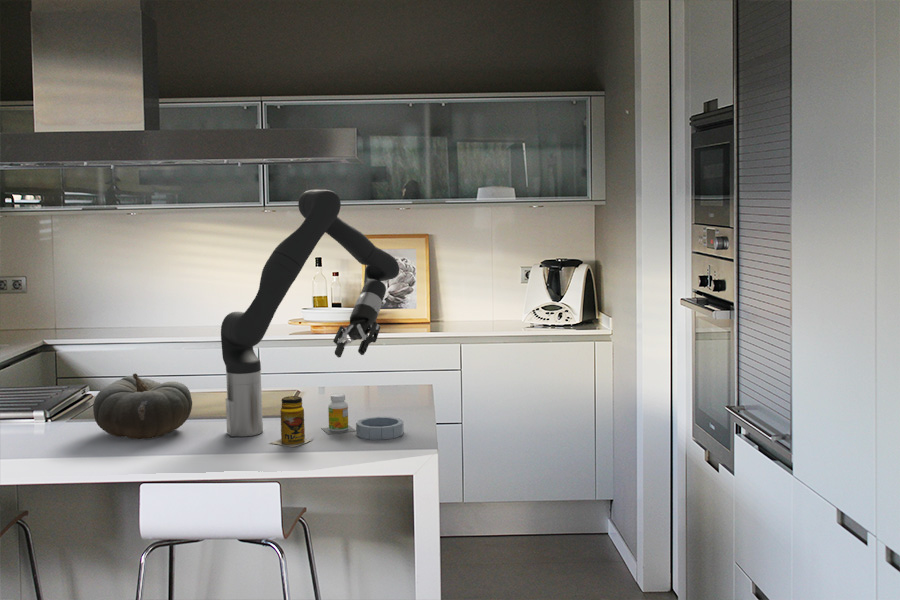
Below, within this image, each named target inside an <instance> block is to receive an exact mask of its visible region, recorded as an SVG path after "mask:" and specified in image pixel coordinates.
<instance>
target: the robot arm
mask: <svg viewBox="0 0 900 600" xmlns="http://www.w3.org/2000/svg"><path fill="white" fill-rule="evenodd" d="M297 206H298V210H299V212H300V215H301V216H302V217H303V218H304V220H303V222H302V223H301V225H299V227H298V228H296V230H294V231H293V232H292V233H291V234H290V235H289V236H287V237H285V238H284V240H282V241H281V242H280V243H279V244H278V245H277V246H276V247H275V249H273V251H272V252H271V254H270V256H269V258H268V259H267V260H266V262H265V264H264V265H263V268H262V270H261V276H260V280H259V287H258V291H257V293H256V296H255V297H254V299H253V300H252V302H251V303H250V305H249V306H248V307H247V308H246V310H245V311H232V312H229V313H228V314H226V316H224V318H223V320H222V322H221V326H220V343H221V352H222V353H221V354H222V355H221V356H222V359H223V363H224V365H225V371H226V372H225V373H226V374H225V375H226V377H225V378H226V398H225V412H226V413H225V416H226V432H227V434H228V435H229V437H231V438H232V437H250V436H251V437H253V436H257V435H259V434H262V433H263V432H264V423H263V422H264V421H263V401H262V399H263V397H262V396H263V394H262V366H261V364H262V363H261V360H260V359H259V357H258V356H257V355H256V353H255V351H254V347H255V346H257V345H258V344H260V342H261V341H262V340H263V338H264V337H265V335H266V332H267V331H268V329H269V326H270V324H271V322H272V320H273V318H274V317H275V314H276V312H277V310H278V308H279V306H280V305H281V303H282V301H283V300H284V298H285V296H286V295H287V293H288V292H289V290H290V288H291V287H292V284H293V283H294V282H295V281H296V279H297V277H298V276H299V274H300V272H301V271H302V270H303V267H304V266H305V264H306V262H307V261H308V258H309V257H310V255H312V253H313V251H314V250H315V248H316V247H317V245H318V243H319V241H320V240H321V239H322V237H323V235H325V233H326V234H327V235H328V236H330V238H332V239H333V240H335V241H336V242H337V243H338V244H339V245H341V247H343V248H344V249H345V250H346V251H347V252H348V253H349V254H350V255H351V256H352V257H353V258H354V259H355V260H356V261H357V262H358V263H359V264H361V265H363V266H365V269H364V278H363V286H362V289H361V291H360V294H359V296H358V297H357V299H356V302H355V303H354V306H353V309H352V312H351V314H350V316H349V324H348V326H347V327H344V326H343V325H340V326H339V328H338V330H337V331H336V333H335V336H334V339H333V341H332V342H333V343H334V344H335V345H336V347H335V350H334V355H335V356H336V357H337V358H341V357H342V356H343V353H344V350H345V347H346V346H347V345H349V344H352V342H353V341H357V340H361V341H360V344H359V347H358V349H357V352H358V354H359V355H360V356H364V355H365V353H366V352H367V350H368V348H369V346H370V345H371V344H372V343H373V344H374V343H376V341H377V340H378V337H379V334H380V330H381V326H380V324H378V323H377V320H378V317H379V316H378V315H379V314H380V311H381V306H382V304H383V301H384V298H385V296H386V292H387V287H386V285H385V284H384V281H389V280H393V279H395V278H396V277H398V275H399V272H400V266H399V263H398V261H397V259H395V257H394V256H393V255H391V254H390V253H388V252H386V251H384V250H383V249H381V248H380V247H378V246H376V245H374V243H373V242H372V241H371V240H370V239H369V238H368V237H367V235H365V234H363V233H362V232H361V231H359V230H358V229H357V228H355V227H354V226H352V225H350V224H349V223H347V222H345V221H344V220H343V219H341V218H340V217H339V213H340V211H341V199H340V196H339V195H338V193H336V192H335V191H333V190H329V189H310V190H309V189H308V190H306V191H304V192H303V193H302V194H301V195H300V196H299V200H298V205H297Z"/></svg>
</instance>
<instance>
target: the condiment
mask: <svg viewBox="0 0 900 600" xmlns="http://www.w3.org/2000/svg"><path fill="white" fill-rule="evenodd" d="M280 435H281V437H280V439H277V440H274V441H270V444H274V445H280V446H282V447H283V446H284V447H293V448H294V447H299V446H302V445H304V444H306V443H308V442H310V441H312V439H306V437H305V436H306V435H305V410H304V407H303V398H302V397H301V396H297V395H290V396H285V397H282V398H281V408H280Z"/></svg>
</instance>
